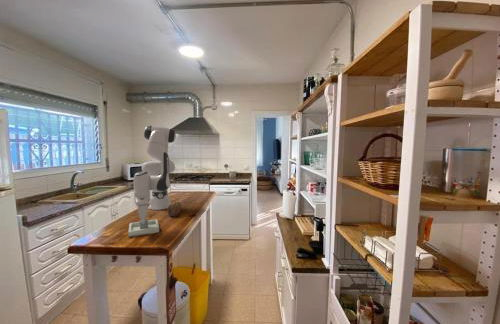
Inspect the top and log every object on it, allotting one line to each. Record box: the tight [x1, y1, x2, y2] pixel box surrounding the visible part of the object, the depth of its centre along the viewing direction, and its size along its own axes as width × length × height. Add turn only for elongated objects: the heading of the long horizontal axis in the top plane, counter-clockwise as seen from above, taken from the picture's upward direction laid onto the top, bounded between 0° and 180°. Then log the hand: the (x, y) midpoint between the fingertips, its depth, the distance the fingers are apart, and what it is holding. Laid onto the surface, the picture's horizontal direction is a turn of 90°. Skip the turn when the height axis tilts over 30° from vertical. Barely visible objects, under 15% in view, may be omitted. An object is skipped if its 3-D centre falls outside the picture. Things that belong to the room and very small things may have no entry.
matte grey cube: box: [139, 218, 149, 229], centre depth 134 cm, size 4×4×5 cm
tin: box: [167, 201, 182, 217], centre depth 165 cm, size 15×3×8 cm, turn 168°
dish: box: [127, 218, 160, 238], centre depth 134 cm, size 16×16×3 cm
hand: (143, 220), depth 134 cm, fingers open, 8 cm apart
